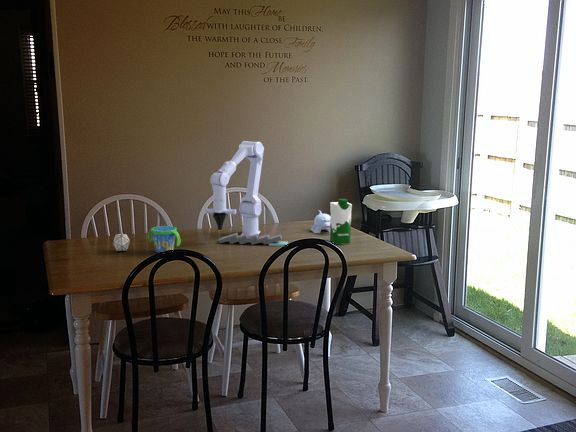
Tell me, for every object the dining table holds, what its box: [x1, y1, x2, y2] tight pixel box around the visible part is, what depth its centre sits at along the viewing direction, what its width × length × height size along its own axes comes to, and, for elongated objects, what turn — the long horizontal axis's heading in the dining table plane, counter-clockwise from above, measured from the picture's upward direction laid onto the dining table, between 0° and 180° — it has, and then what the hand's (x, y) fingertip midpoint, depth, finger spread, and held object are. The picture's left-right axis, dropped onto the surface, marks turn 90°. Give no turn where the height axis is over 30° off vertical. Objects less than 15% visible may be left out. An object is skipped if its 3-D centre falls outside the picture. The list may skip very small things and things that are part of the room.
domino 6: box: [268, 240, 289, 247], centre depth 279 cm, size 2×5×8 cm
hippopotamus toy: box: [310, 209, 331, 234], centre depth 304 cm, size 11×15×10 cm
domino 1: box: [218, 232, 239, 244], centre depth 281 cm, size 2×5×8 cm
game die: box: [110, 232, 133, 253], centre depth 264 cm, size 9×8×10 cm
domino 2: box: [228, 233, 249, 244], centre depth 281 cm, size 2×5×8 cm
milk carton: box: [329, 198, 353, 245], centre depth 281 cm, size 9×9×20 cm
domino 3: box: [238, 234, 260, 245], centre depth 280 cm, size 2×5×8 cm
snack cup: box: [147, 225, 182, 254], centre depth 264 cm, size 16×10×10 cm
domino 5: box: [262, 233, 283, 245], centre depth 279 cm, size 2×5×8 cm
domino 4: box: [250, 233, 271, 246], centre depth 279 cm, size 2×5×8 cm
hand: (220, 229), depth 281 cm, fingers closed
